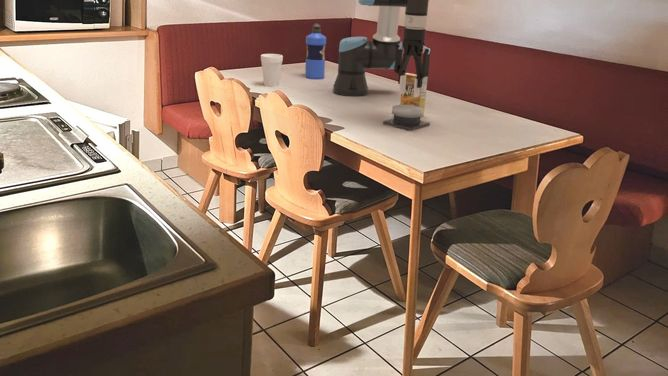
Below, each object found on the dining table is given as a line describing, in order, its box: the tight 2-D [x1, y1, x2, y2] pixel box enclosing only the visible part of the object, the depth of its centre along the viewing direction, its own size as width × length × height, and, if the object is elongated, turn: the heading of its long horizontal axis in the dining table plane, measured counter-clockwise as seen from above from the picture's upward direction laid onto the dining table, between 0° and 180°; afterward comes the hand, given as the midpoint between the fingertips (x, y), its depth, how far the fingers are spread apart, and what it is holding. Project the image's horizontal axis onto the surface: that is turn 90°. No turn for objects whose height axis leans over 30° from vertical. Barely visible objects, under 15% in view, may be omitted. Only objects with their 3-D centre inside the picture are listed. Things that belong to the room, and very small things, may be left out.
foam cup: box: [260, 53, 284, 87], centre depth 284 cm, size 10×9×13 cm
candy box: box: [399, 72, 429, 118], centre depth 244 cm, size 9×4×15 cm, turn 50°
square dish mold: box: [382, 114, 431, 132], centre depth 231 cm, size 12×12×4 cm
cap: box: [391, 104, 424, 118], centre depth 231 cm, size 11×11×4 cm
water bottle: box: [304, 23, 327, 80], centre depth 303 cm, size 9×9×25 cm
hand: (409, 95), depth 228 cm, fingers open, 5 cm apart
